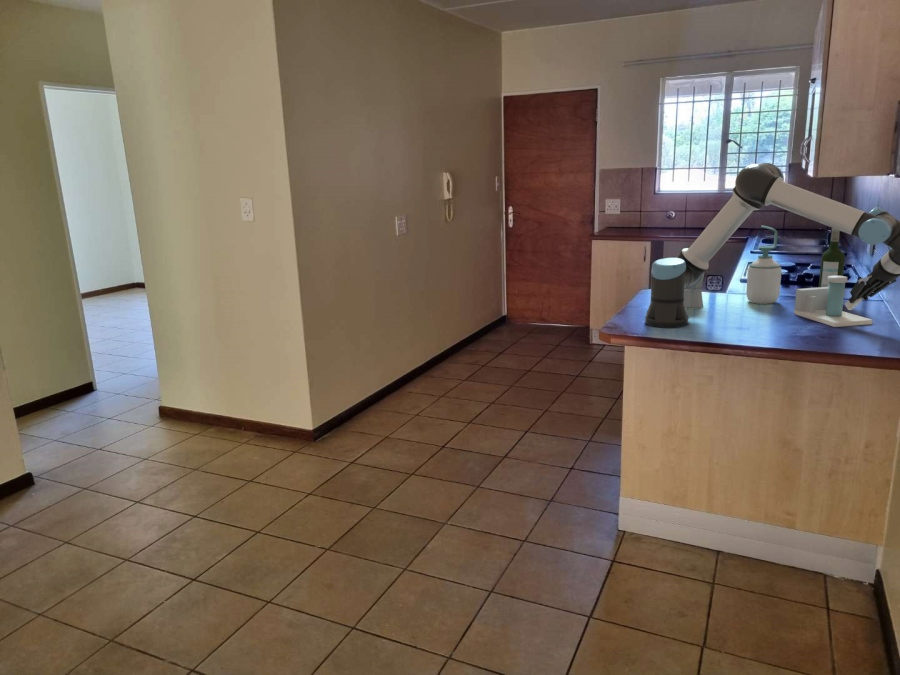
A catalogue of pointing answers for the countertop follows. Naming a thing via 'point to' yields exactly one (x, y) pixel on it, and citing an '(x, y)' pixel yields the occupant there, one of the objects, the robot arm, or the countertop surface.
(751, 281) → the soap bottle
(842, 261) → the wine bottle
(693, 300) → the coffee maker
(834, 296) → the teal jar
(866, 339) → the countertop surface
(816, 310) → the mount
